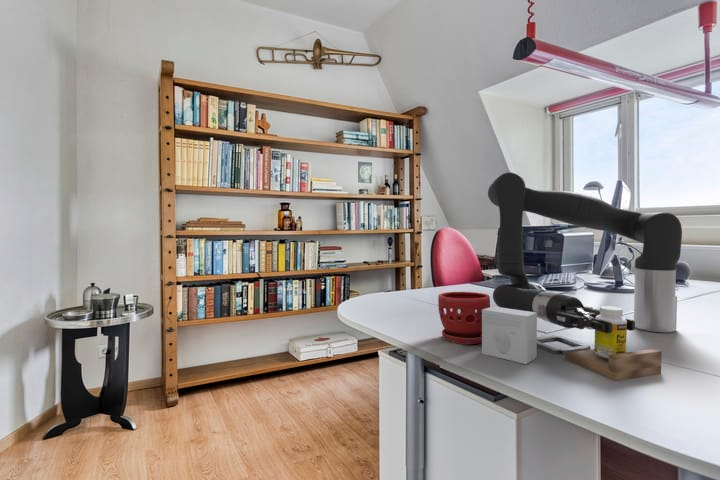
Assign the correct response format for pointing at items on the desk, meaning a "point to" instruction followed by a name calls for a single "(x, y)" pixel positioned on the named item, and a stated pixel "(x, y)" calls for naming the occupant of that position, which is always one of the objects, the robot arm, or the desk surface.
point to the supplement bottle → (615, 339)
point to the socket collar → (563, 350)
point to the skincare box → (509, 334)
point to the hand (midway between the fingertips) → (622, 327)
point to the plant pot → (462, 316)
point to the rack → (619, 363)
